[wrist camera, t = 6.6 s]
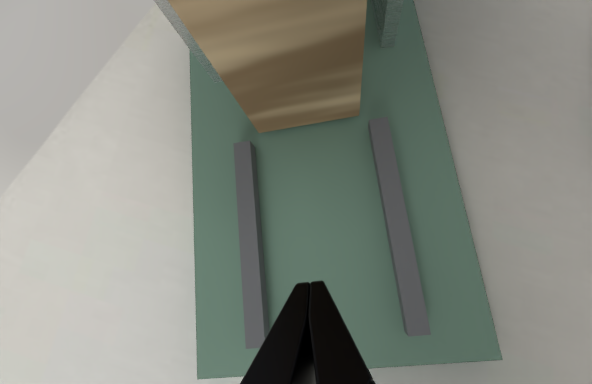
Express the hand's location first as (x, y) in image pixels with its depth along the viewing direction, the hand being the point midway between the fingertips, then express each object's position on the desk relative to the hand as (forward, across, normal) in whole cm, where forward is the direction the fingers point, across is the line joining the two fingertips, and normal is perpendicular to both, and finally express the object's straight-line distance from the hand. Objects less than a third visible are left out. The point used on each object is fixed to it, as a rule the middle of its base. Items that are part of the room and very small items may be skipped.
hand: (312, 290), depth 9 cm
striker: (+12, 0, -3) cm, 12 cm away
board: (+11, 0, 0) cm, 11 cm away
